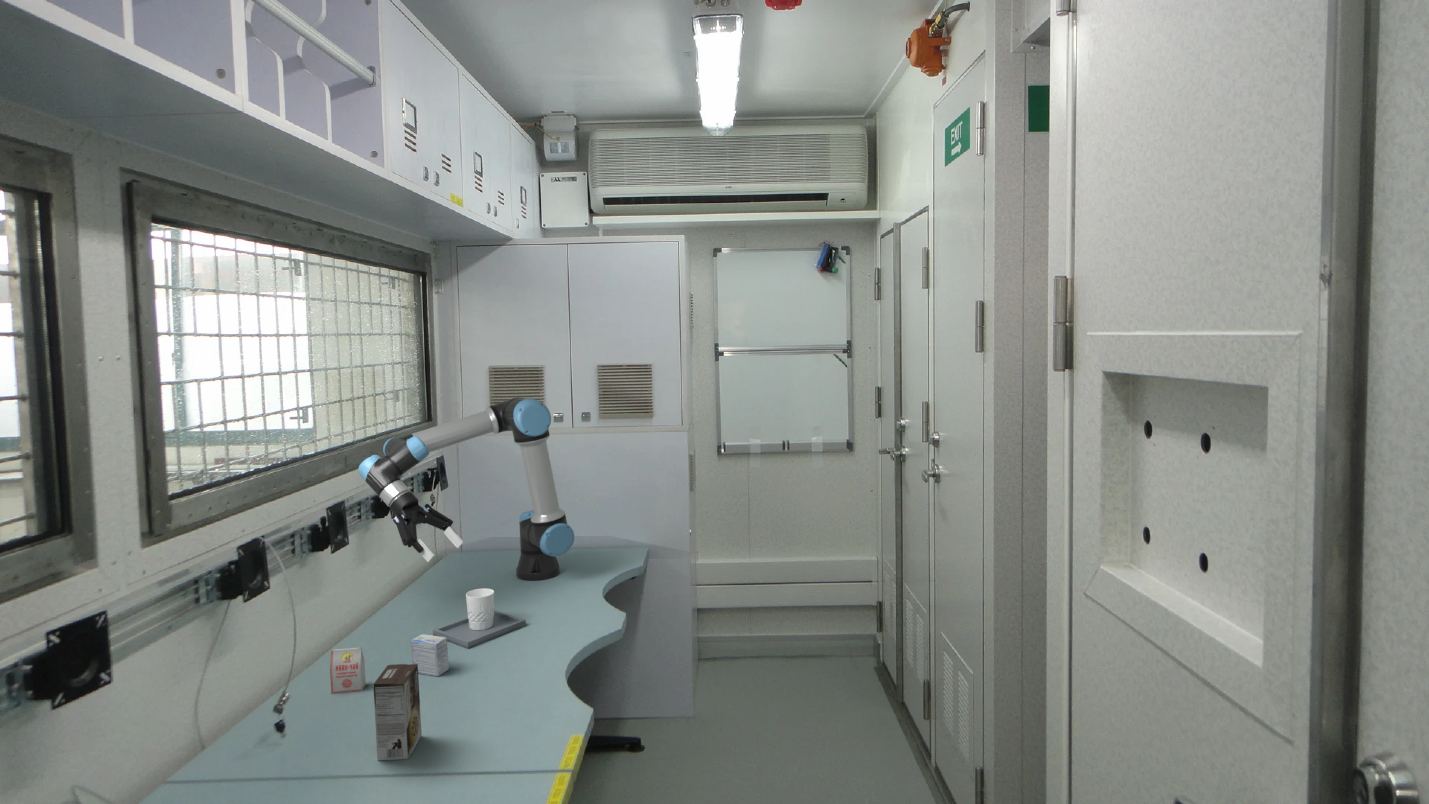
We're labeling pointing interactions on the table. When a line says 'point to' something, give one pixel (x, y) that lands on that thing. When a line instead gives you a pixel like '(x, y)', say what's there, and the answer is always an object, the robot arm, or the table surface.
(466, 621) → the tray
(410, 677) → the coffee box
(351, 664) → the white paper packet
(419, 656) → the medicine box
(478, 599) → the white cup
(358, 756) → the table surface
